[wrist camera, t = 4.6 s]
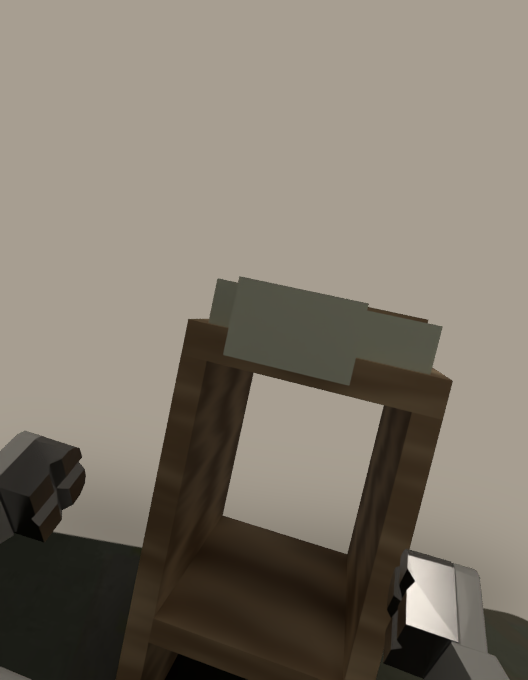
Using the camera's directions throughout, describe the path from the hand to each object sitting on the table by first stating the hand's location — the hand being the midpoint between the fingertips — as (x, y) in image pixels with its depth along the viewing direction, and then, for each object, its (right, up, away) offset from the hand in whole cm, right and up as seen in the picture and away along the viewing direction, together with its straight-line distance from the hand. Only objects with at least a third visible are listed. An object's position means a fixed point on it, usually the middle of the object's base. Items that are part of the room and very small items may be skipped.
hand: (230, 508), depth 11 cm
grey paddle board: (+4, +4, +14) cm, 15 cm away
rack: (-1, -21, +22) cm, 31 cm away
